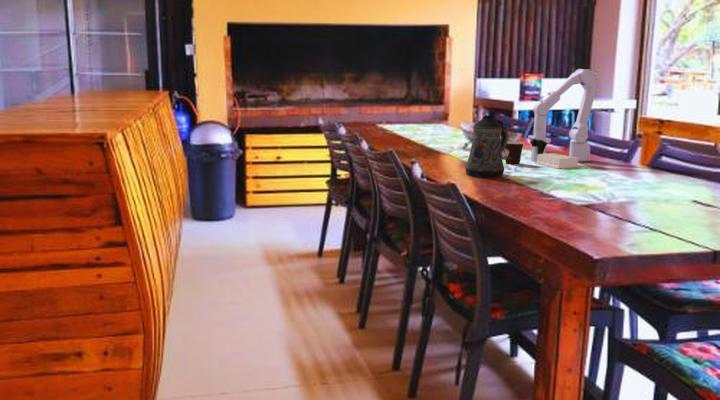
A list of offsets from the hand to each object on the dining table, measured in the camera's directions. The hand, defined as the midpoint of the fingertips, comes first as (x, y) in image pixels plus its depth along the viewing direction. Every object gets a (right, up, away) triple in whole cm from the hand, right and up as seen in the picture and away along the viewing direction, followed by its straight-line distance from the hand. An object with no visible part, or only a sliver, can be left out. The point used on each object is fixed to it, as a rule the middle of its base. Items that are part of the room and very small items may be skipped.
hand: (538, 155), depth 329 cm
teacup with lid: (-18, 0, +11) cm, 21 cm away
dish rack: (+5, -5, -13) cm, 15 cm away
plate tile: (0, -2, +1) cm, 2 cm away
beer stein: (-33, -11, -38) cm, 51 cm away
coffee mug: (-15, -4, -8) cm, 17 cm away
